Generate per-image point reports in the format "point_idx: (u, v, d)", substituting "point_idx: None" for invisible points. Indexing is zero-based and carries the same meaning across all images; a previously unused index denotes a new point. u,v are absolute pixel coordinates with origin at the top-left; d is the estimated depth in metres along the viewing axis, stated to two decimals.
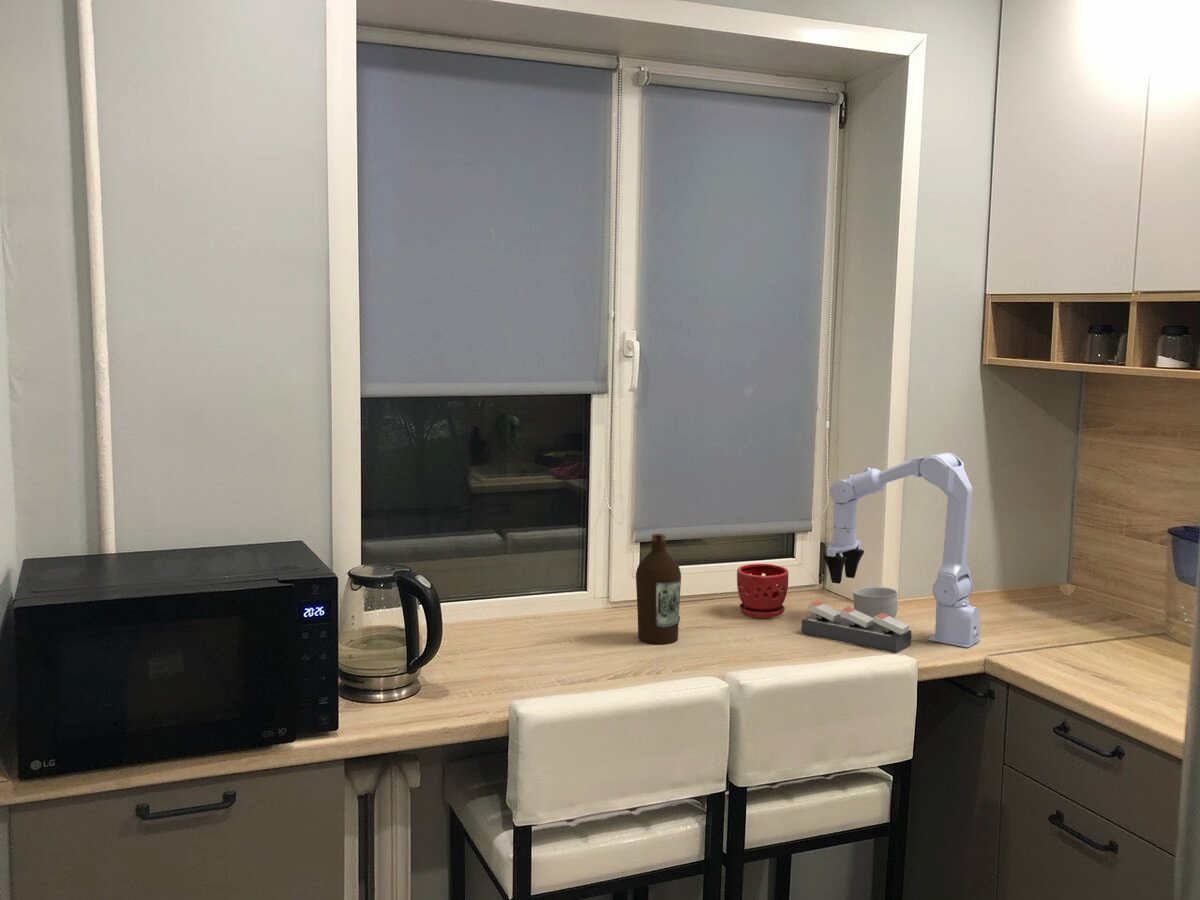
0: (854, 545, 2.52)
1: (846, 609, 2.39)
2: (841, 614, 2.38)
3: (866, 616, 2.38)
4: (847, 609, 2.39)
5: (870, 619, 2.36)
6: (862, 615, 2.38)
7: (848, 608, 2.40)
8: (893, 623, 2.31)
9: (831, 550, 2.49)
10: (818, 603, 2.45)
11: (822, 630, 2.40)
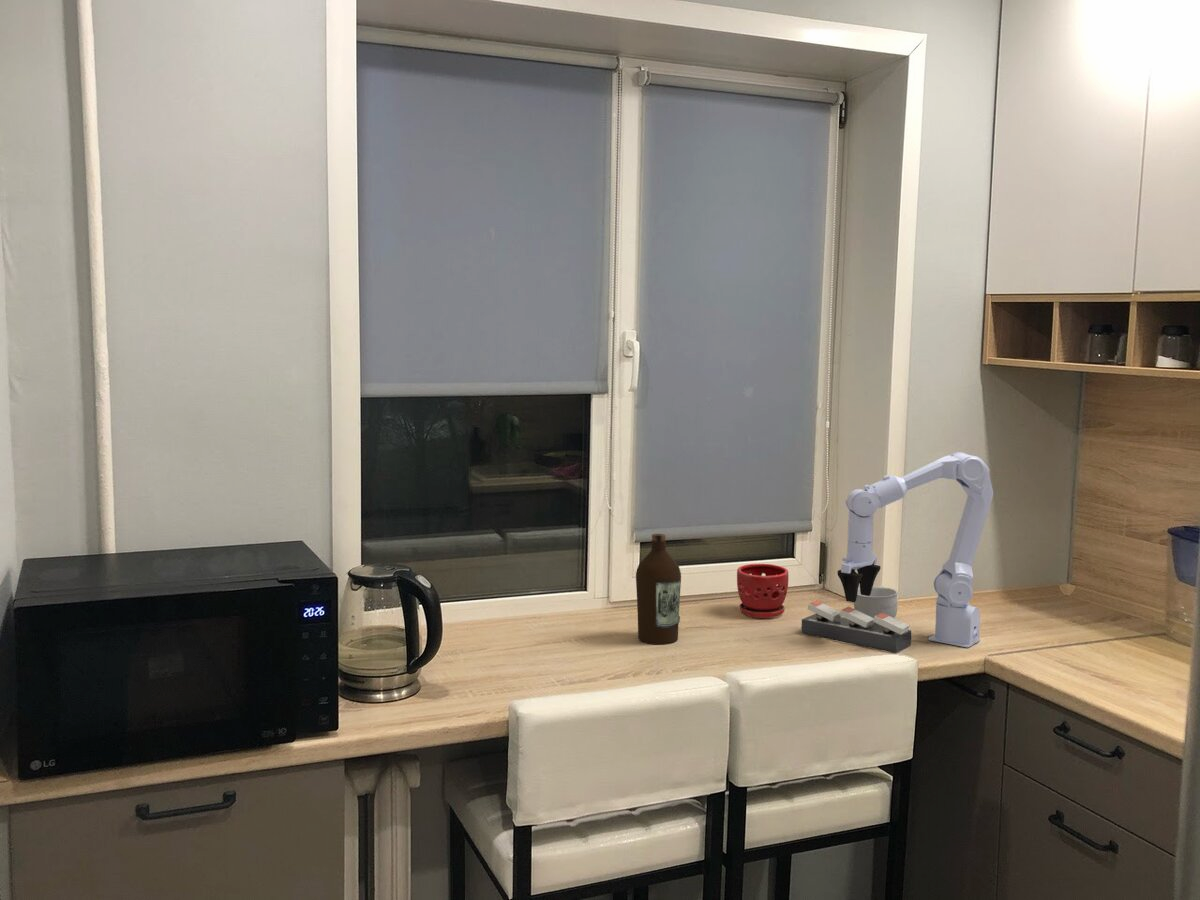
0: (870, 561, 2.34)
1: (846, 609, 2.39)
2: (841, 614, 2.38)
3: (866, 616, 2.38)
4: (847, 609, 2.39)
5: (870, 619, 2.36)
6: (862, 615, 2.38)
7: (848, 608, 2.40)
8: (893, 623, 2.31)
9: (846, 566, 2.31)
10: (818, 603, 2.45)
11: (822, 630, 2.40)
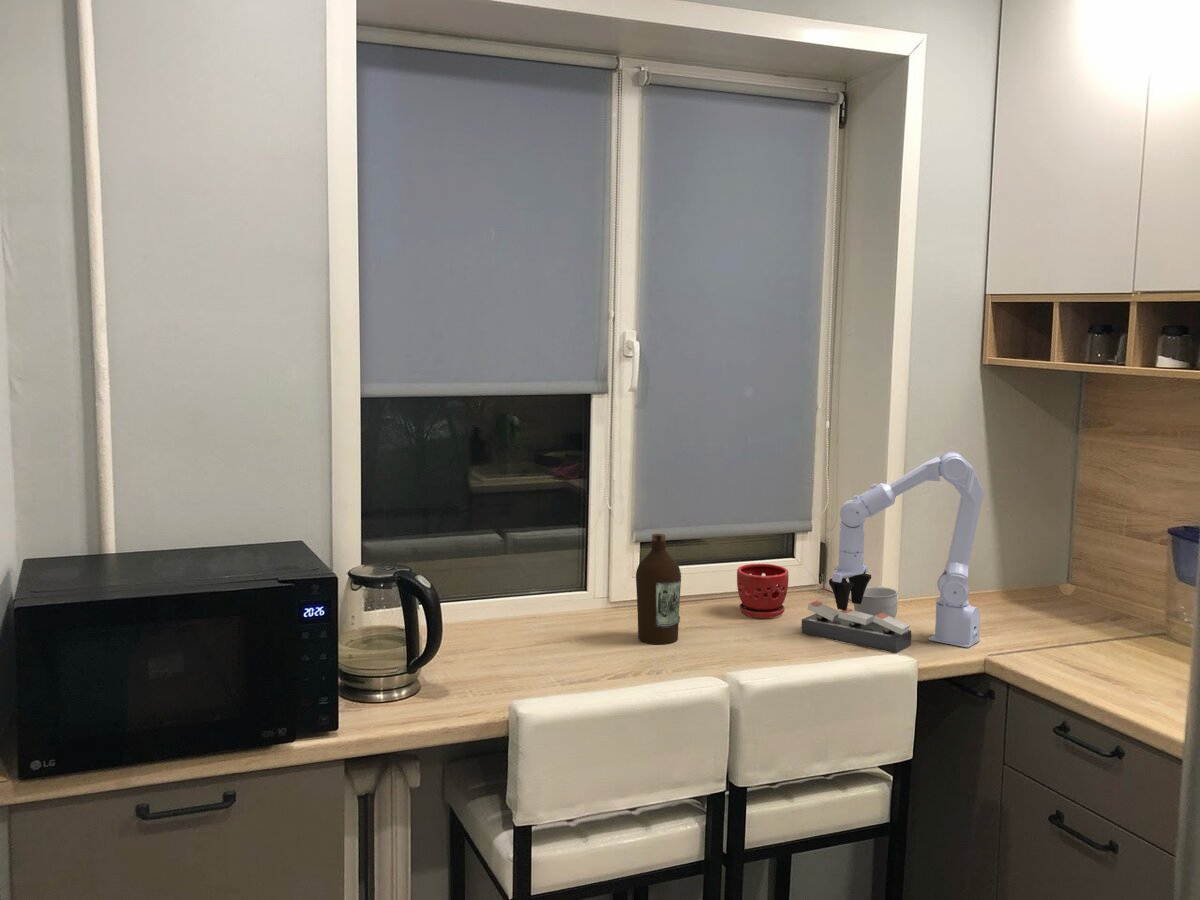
0: (861, 570, 2.40)
1: (844, 610, 2.39)
2: (840, 616, 2.39)
3: (865, 614, 2.38)
4: (845, 610, 2.39)
5: (869, 616, 2.36)
6: (861, 614, 2.38)
7: None
8: (893, 623, 2.31)
9: (837, 575, 2.37)
10: (818, 603, 2.45)
11: (822, 630, 2.40)
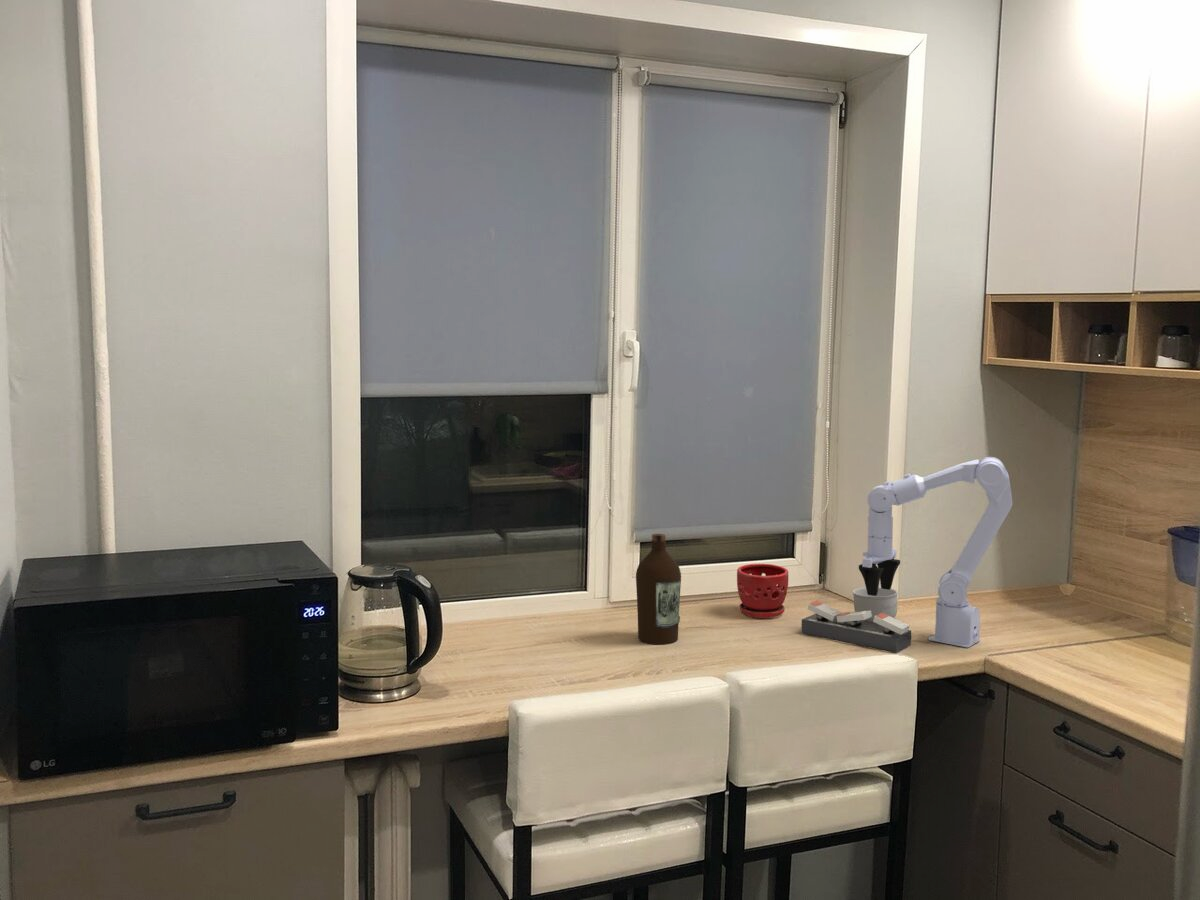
0: (891, 555, 2.40)
1: (841, 614, 2.40)
2: (839, 620, 2.39)
3: (862, 611, 2.38)
4: (842, 614, 2.40)
5: (866, 611, 2.37)
6: (858, 612, 2.38)
7: (843, 613, 2.41)
8: (893, 623, 2.31)
9: (867, 561, 2.36)
10: (818, 603, 2.45)
11: (822, 630, 2.40)
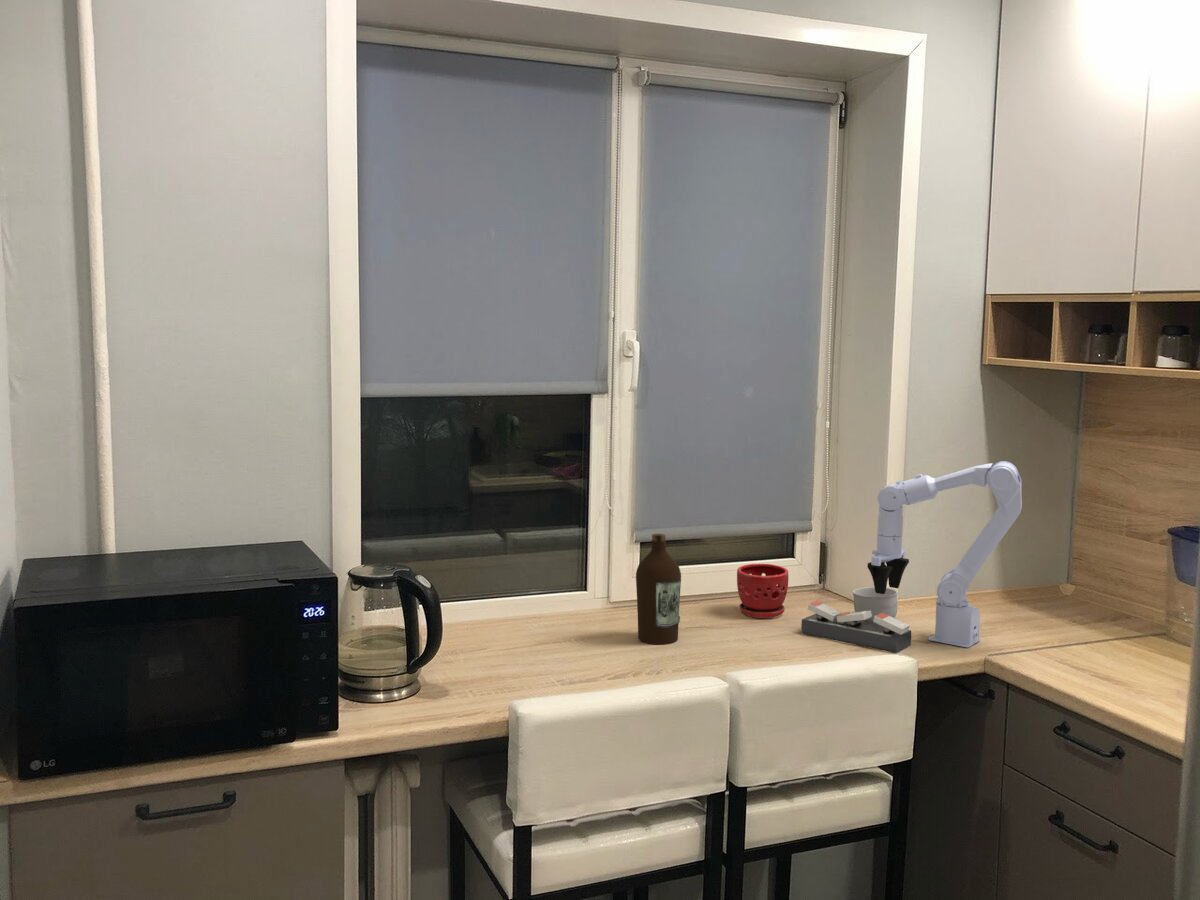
0: (900, 554, 2.40)
1: (841, 614, 2.40)
2: (839, 620, 2.39)
3: (862, 611, 2.38)
4: (842, 614, 2.40)
5: (866, 611, 2.37)
6: (858, 612, 2.38)
7: (843, 613, 2.41)
8: (893, 623, 2.31)
9: (876, 559, 2.37)
10: (818, 603, 2.45)
11: (822, 630, 2.40)
